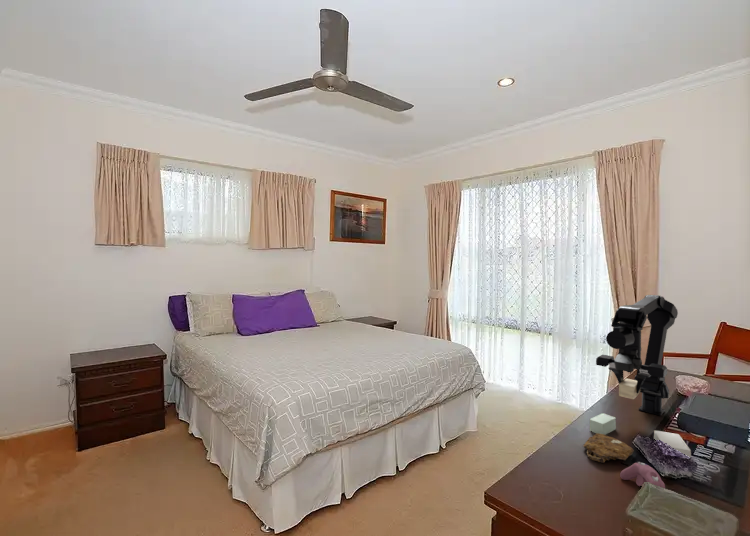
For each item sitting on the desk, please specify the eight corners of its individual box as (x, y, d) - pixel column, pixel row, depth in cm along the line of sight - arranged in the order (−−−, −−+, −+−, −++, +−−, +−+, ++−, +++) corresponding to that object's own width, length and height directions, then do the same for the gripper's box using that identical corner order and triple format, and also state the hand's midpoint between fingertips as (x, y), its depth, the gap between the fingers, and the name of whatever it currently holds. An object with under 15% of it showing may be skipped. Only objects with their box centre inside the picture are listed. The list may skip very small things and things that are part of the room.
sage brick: (602, 425, 120) (602, 413, 120) (615, 429, 116) (615, 417, 116) (589, 431, 116) (589, 419, 115) (602, 436, 112) (602, 424, 112)
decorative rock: (624, 476, 93) (635, 455, 103) (626, 461, 92) (637, 441, 103) (576, 457, 101) (591, 439, 111) (577, 442, 100) (592, 426, 111)
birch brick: (626, 389, 124) (626, 378, 124) (640, 393, 121) (640, 381, 121) (619, 395, 119) (619, 383, 119) (633, 399, 116) (633, 387, 116)
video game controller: (657, 511, 81) (673, 486, 80) (637, 500, 82) (653, 475, 81) (634, 484, 91) (649, 461, 90) (616, 474, 92) (630, 452, 91)
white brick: (653, 439, 110) (654, 430, 110) (678, 444, 108) (678, 434, 108) (663, 456, 101) (663, 445, 101) (690, 461, 99) (690, 450, 99)
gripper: (590, 343, 121) (589, 389, 122) (659, 354, 107) (658, 406, 108) (601, 338, 128) (601, 381, 129) (668, 348, 114) (667, 396, 115)
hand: (629, 390), depth 120 cm, fingers closed on birch brick, 4 cm apart
